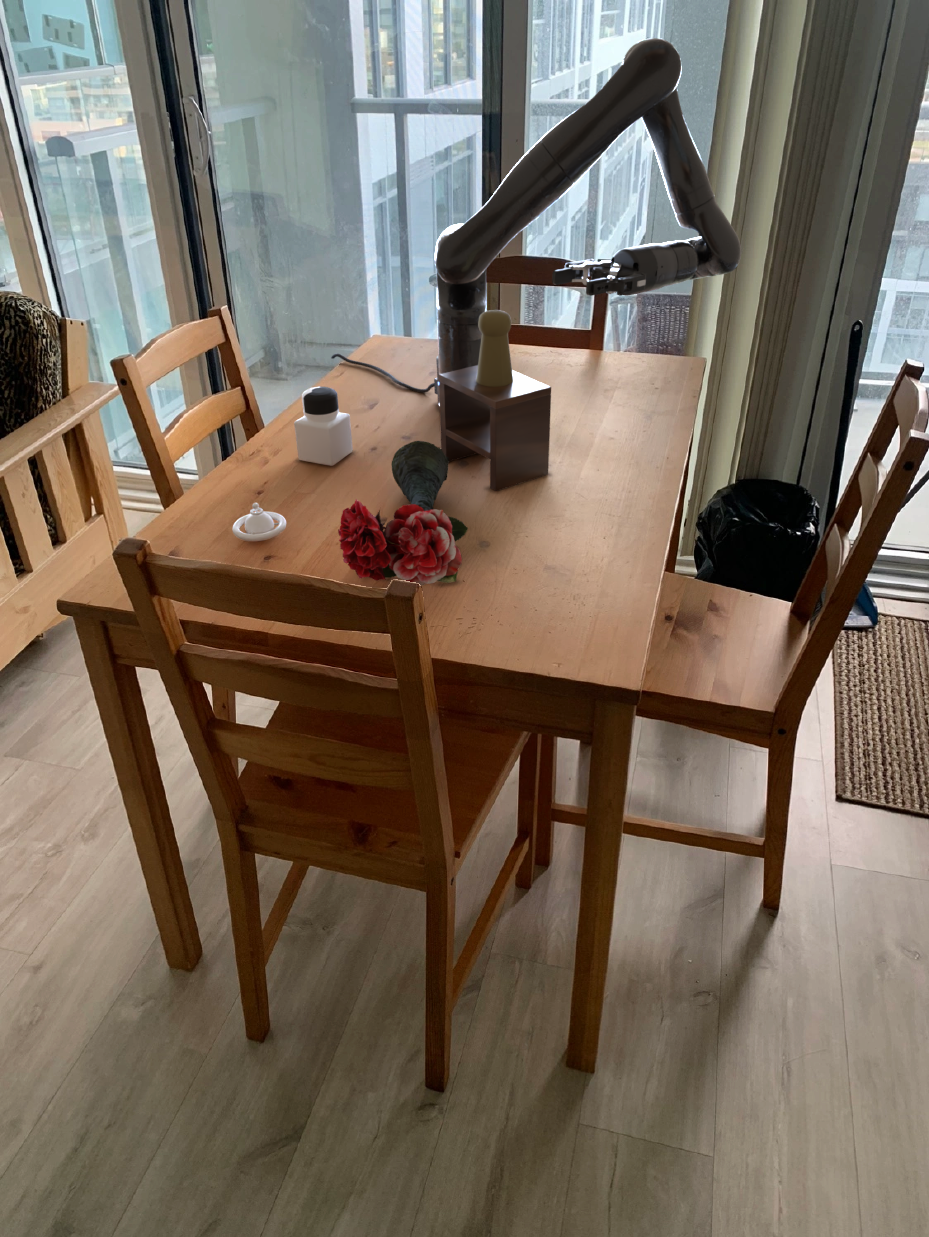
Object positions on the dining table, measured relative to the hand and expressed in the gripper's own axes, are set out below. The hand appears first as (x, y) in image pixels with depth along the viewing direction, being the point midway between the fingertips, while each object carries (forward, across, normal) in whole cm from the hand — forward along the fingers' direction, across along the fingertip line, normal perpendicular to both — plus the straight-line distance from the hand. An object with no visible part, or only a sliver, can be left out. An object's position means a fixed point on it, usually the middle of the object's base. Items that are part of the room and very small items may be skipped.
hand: (570, 283), depth 151 cm
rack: (+15, -1, +28) cm, 32 cm away
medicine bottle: (+36, -22, +29) cm, 51 cm away
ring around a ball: (+58, -1, +29) cm, 64 cm away
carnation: (+41, +14, +29) cm, 52 cm away
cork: (+14, -1, +14) cm, 20 cm away
